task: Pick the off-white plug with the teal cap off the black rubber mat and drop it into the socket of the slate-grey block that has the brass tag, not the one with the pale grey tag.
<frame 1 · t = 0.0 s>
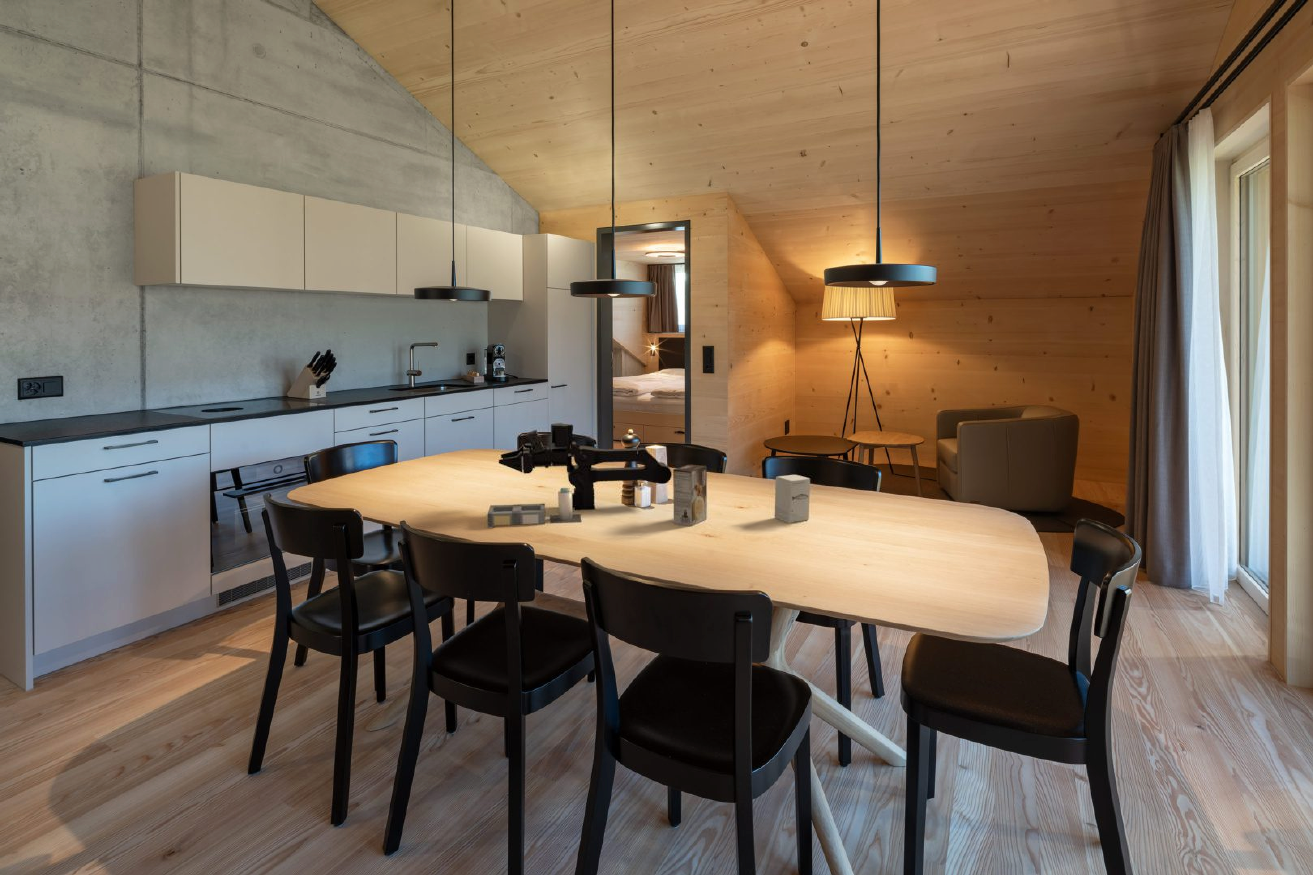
hand: (499, 458, 225), 17 cm above the table, tool horizontal, fingers open, 9 cm apart
supplement box: (791, 519, 217), on the table
coffee box: (690, 522, 215), on the table
socket block: (517, 521, 215), on the table
plug: (565, 518, 217), resting on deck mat
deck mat: (565, 519, 217), on the table
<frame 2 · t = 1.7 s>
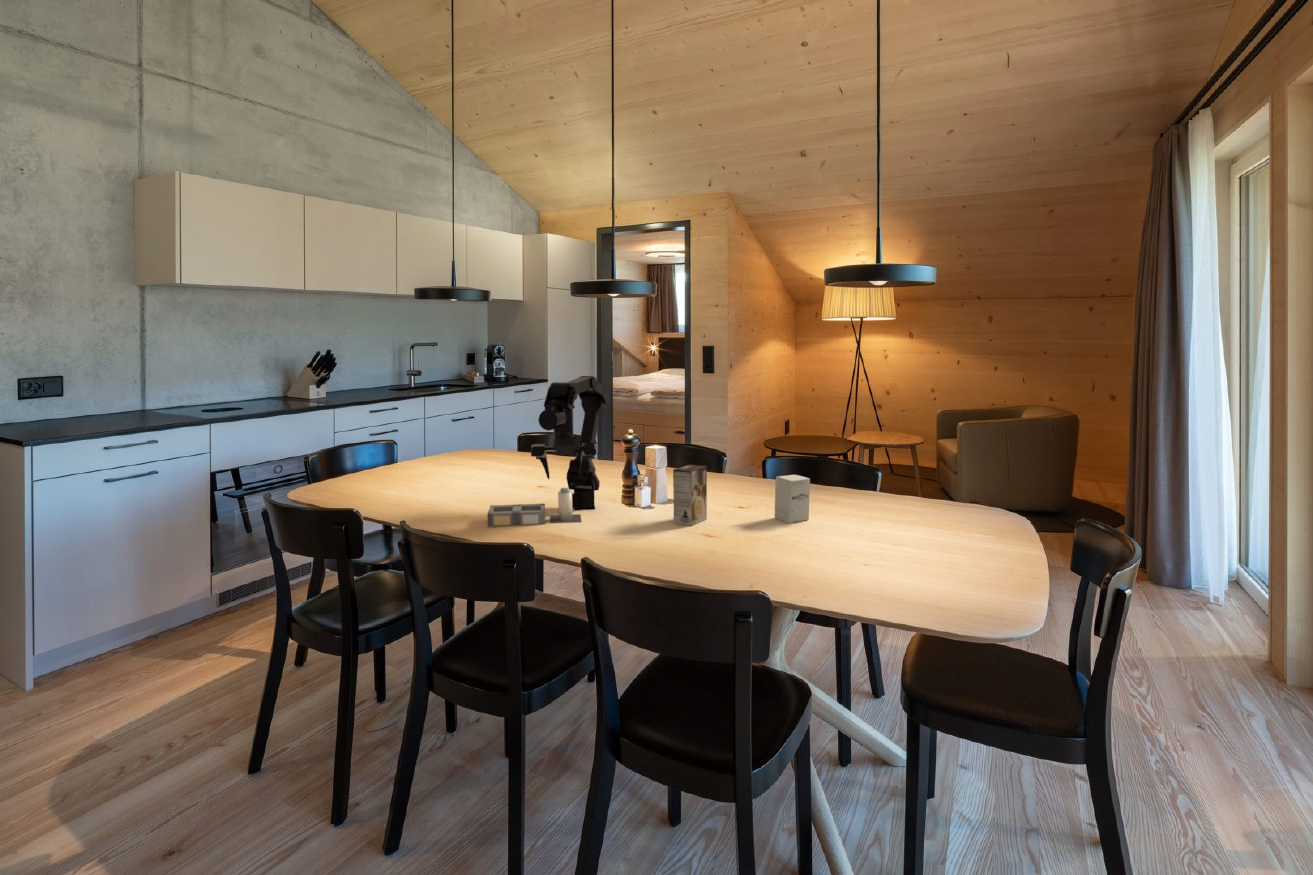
hand: (564, 478, 215), 12 cm above the table, tool pointing down, fingers open, 9 cm apart
nothing on the table moved.
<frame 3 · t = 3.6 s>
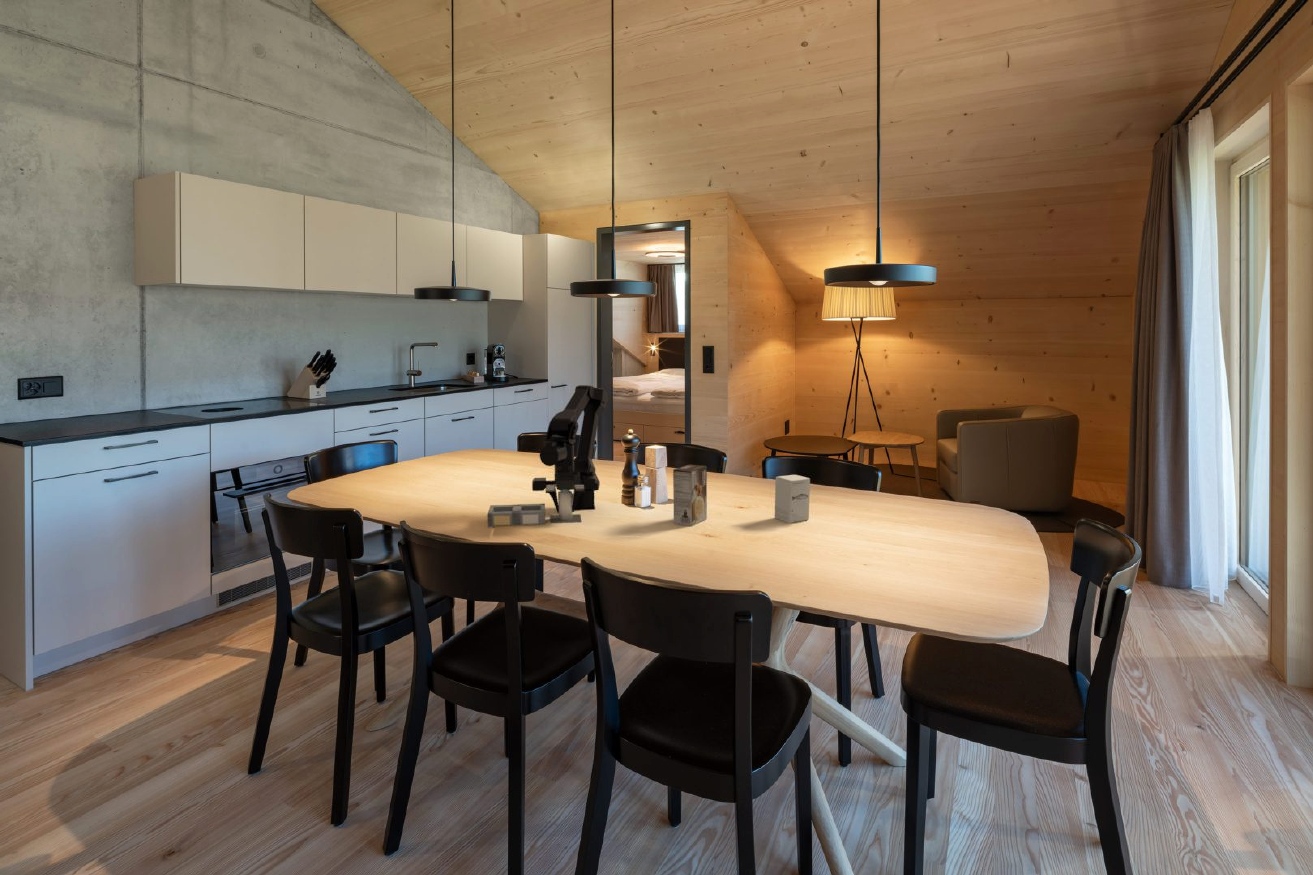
hand: (565, 512, 217), 2 cm above the table, tool pointing down, fingers closed on plug, 4 cm apart
plug: (565, 518, 217), resting on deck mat, touching gripper
everything else where it was.
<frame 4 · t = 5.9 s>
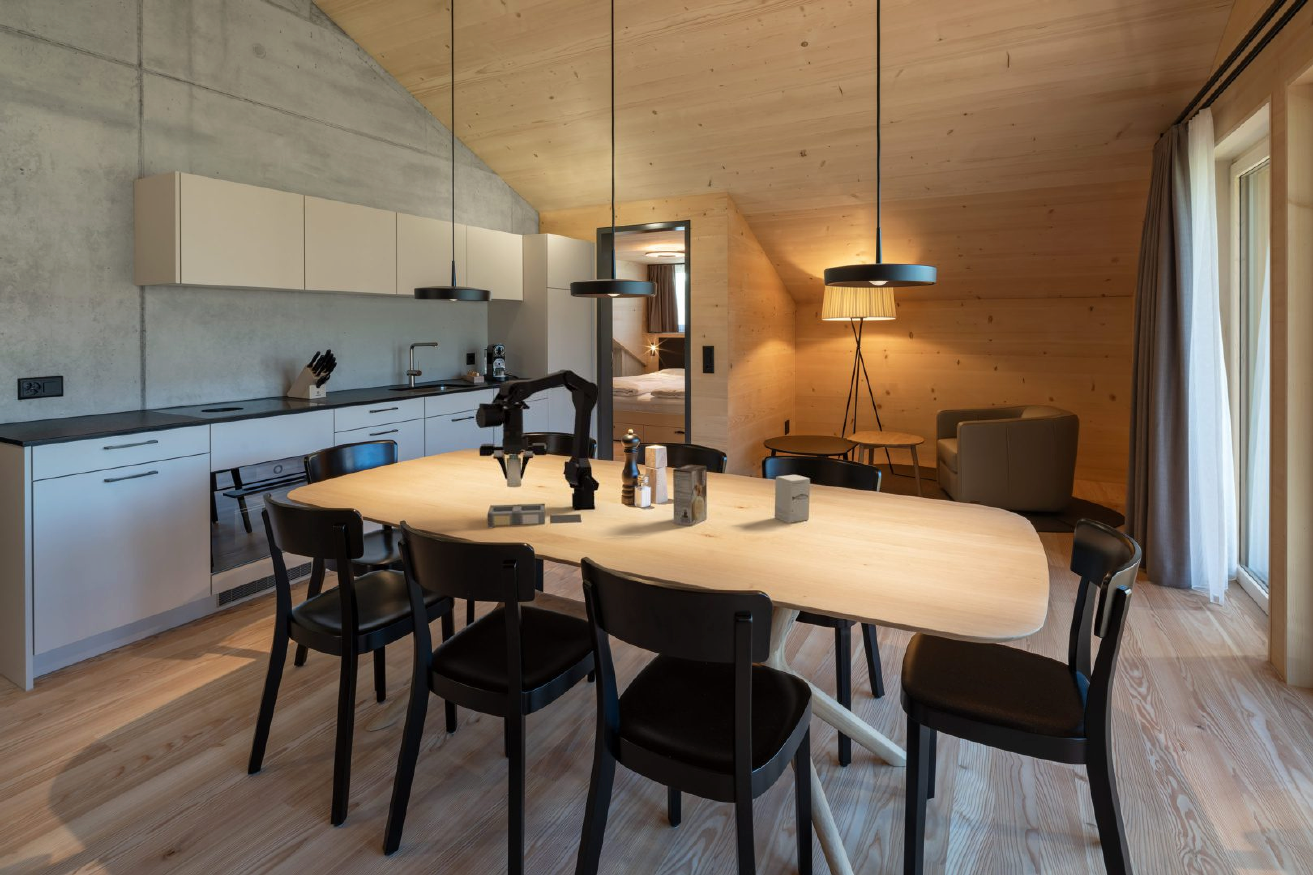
hand: (513, 479, 213), 13 cm above the table, tool pointing down, fingers closed on plug, 4 cm apart
plug: (514, 485, 213), point 11 cm above the table, touching gripper
everything else where it was.
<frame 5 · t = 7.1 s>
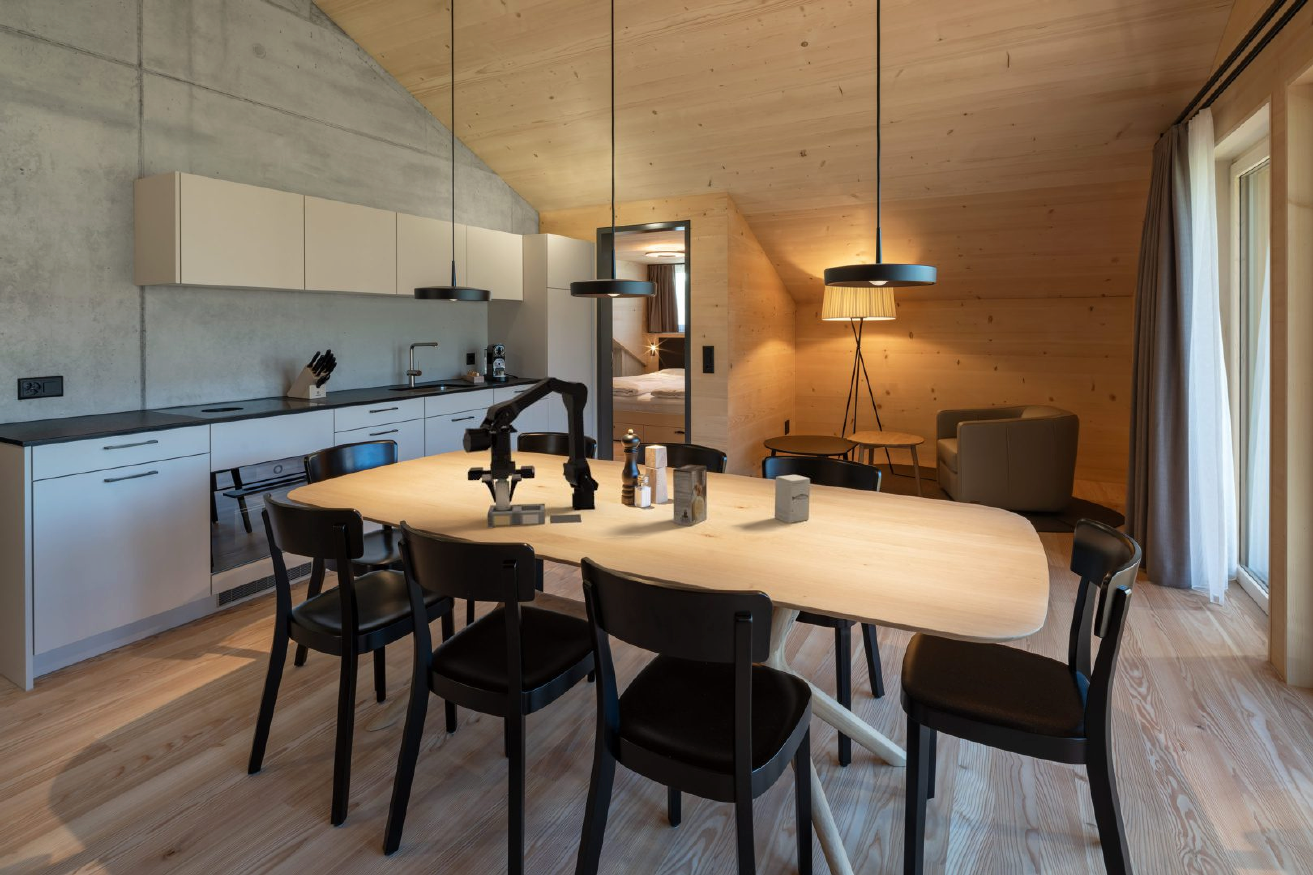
hand: (502, 502, 214), 6 cm above the table, tool pointing down, fingers closed on plug, 4 cm apart
plug: (503, 508, 214), point 4 cm above the table, touching gripper
everything else where it was.
when the fingers open (4 cm above the table, at t = 8.1 s): plug drops 2 cm, resting on socket block.
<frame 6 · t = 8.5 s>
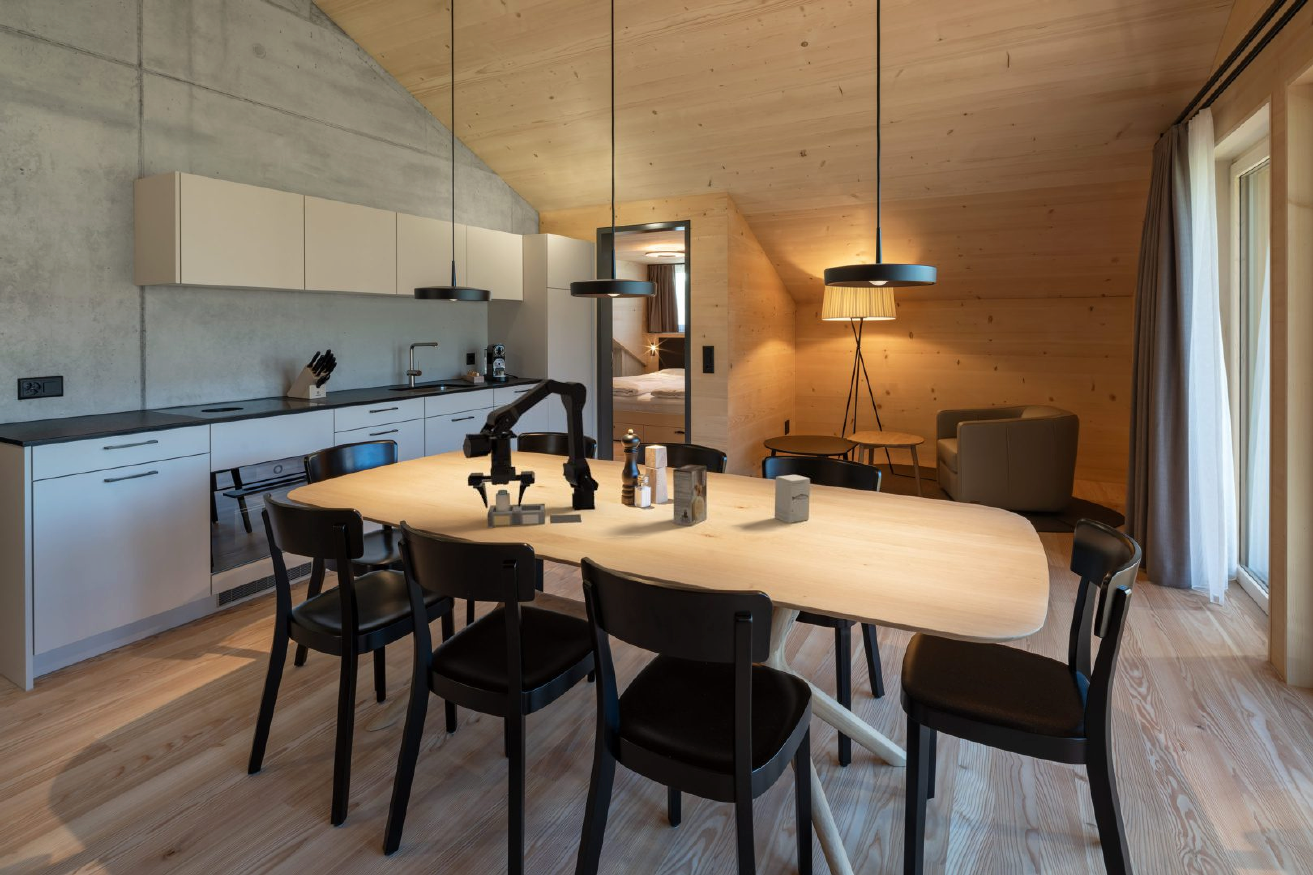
hand: (503, 507, 214), 4 cm above the table, tool pointing down, fingers open, 9 cm apart
plug: (503, 520, 214), point 1 cm above the table, touching socket block
everything else where it was.
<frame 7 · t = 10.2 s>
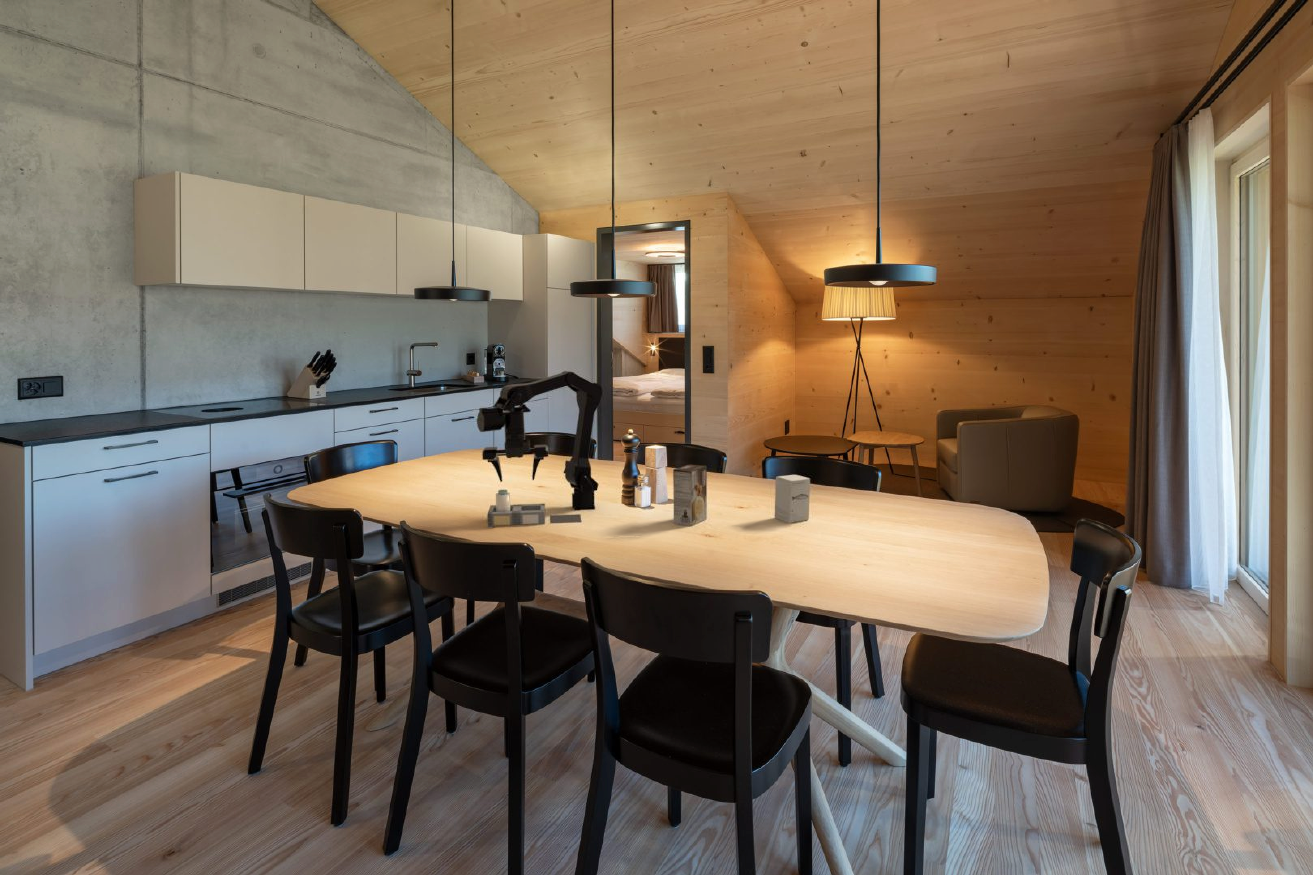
hand: (517, 480, 217), 12 cm above the table, tool pointing down, fingers open, 9 cm apart
nothing on the table moved.
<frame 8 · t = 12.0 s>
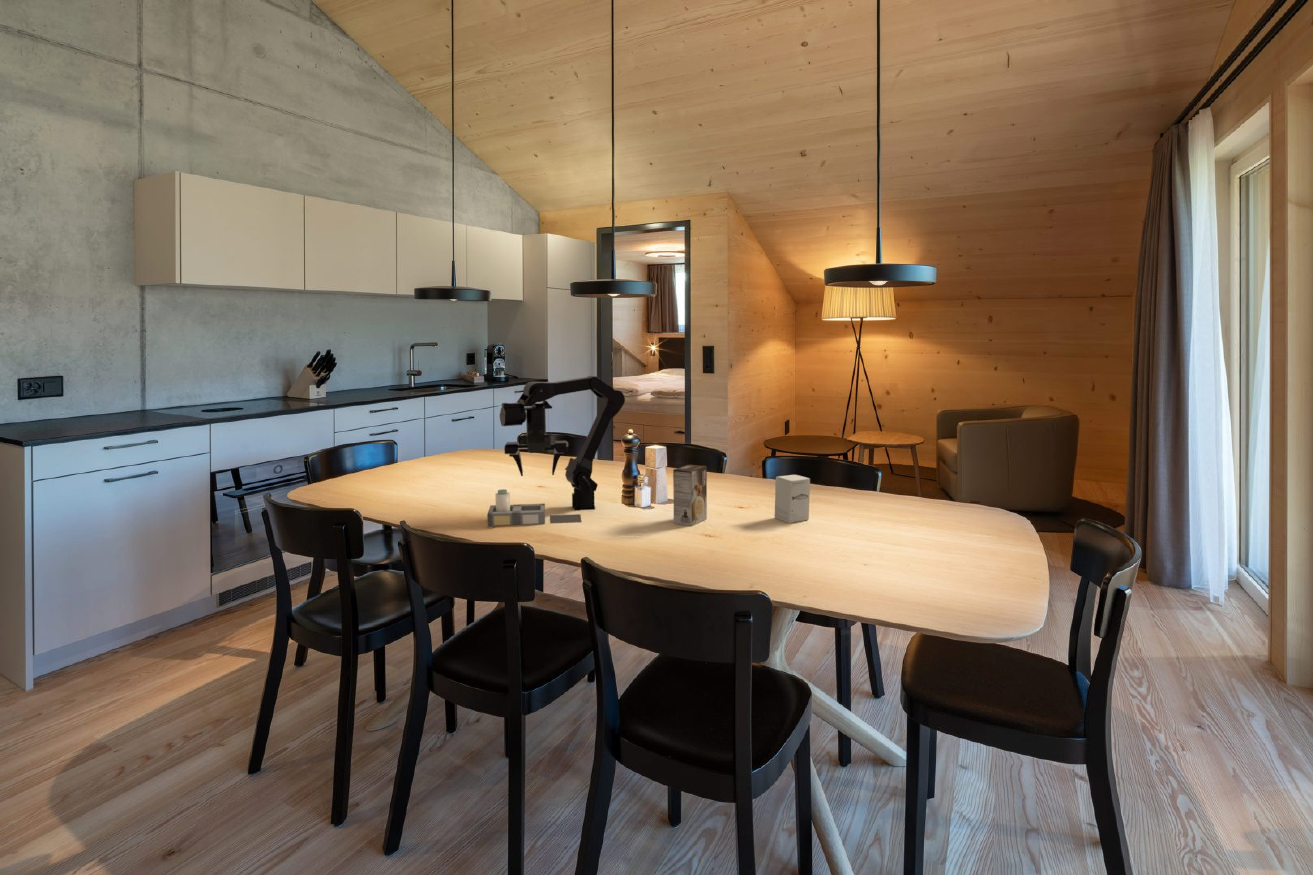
hand: (537, 475, 222), 12 cm above the table, tool pointing down, fingers open, 9 cm apart
nothing on the table moved.
at the end: plug 0.1 cm from the target spot on the socket block, point 0.6 cm above the socket block's base; plug tilted 2°; the gripper is holding nothing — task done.
